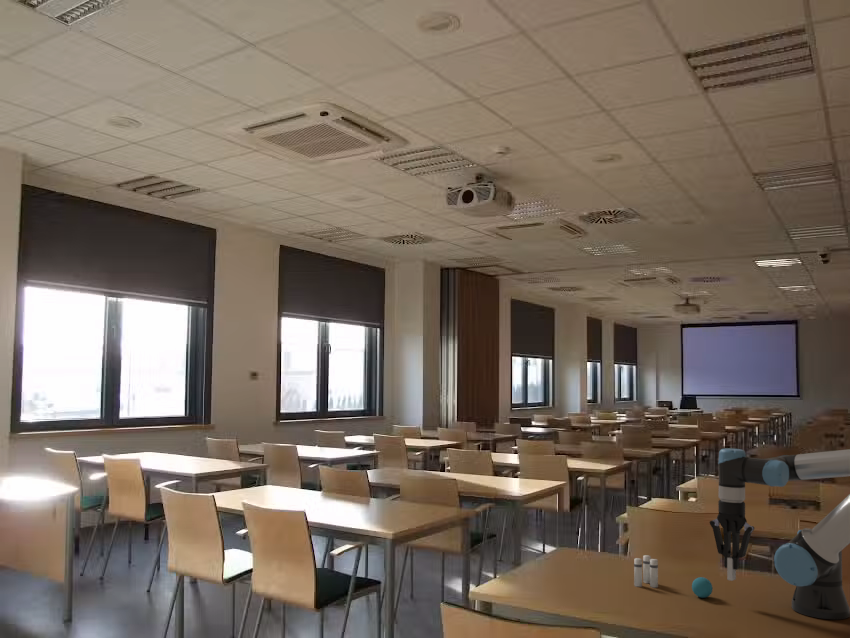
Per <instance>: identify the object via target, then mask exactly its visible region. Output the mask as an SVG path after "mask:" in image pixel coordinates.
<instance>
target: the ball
mask: <svg viewBox="0 0 850 638" xmlns="http://www.w3.org/2000/svg"><path fill="white" fill-rule="evenodd" d="M691 589H692V592H693V593H694V595H696V596H697V597H698V598H701V599H705V598H709V597H710V596H711V595H712V593H713V584H712V582H711V581H710V580H709V579H708V578H706V577H701V576H700V577H696V578H695V579H694V580H693V581H692V583H691Z"/></svg>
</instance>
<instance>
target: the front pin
mask: <svg viewBox="0 0 850 638" xmlns="http://www.w3.org/2000/svg"><path fill="white" fill-rule="evenodd" d="M649 587H650V588H655V589H656V588H659V559H657V558H651V559H650V583H649Z"/></svg>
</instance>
